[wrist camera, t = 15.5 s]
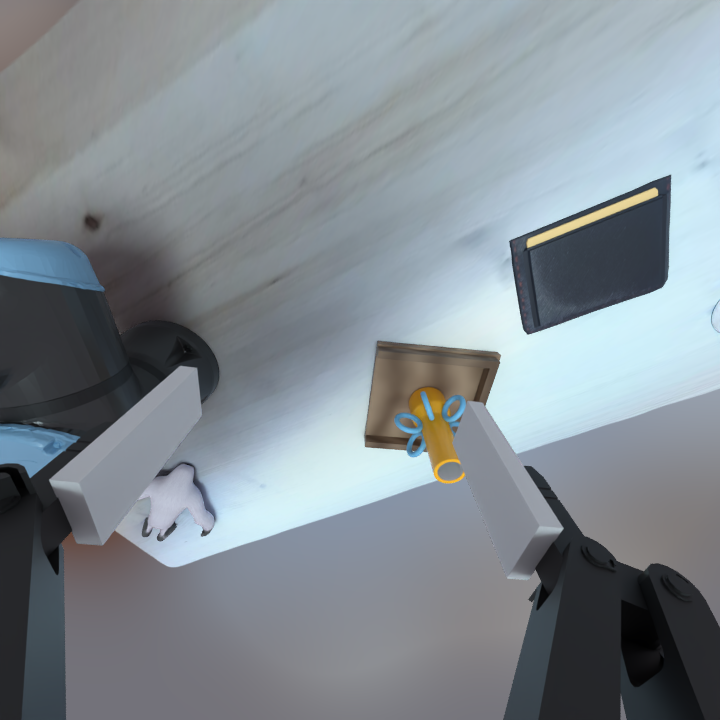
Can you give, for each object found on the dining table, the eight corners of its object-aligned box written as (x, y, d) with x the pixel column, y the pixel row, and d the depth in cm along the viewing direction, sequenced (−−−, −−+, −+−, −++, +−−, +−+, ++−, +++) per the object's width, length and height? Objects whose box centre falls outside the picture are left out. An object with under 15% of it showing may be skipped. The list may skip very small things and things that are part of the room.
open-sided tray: (364, 436, 55) (364, 448, 52) (377, 341, 46) (378, 349, 44) (466, 444, 56) (472, 456, 53) (497, 352, 47) (506, 360, 45)
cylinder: (383, 382, 48) (392, 447, 35) (447, 360, 47) (482, 420, 33) (407, 437, 53) (422, 513, 40) (465, 419, 52) (502, 493, 38)
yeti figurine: (204, 528, 70) (246, 481, 63) (192, 559, 64) (236, 511, 57) (113, 498, 63) (149, 441, 56) (90, 530, 57) (127, 471, 50)
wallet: (527, 339, 45) (512, 236, 39) (520, 334, 47) (505, 235, 40) (674, 292, 42) (684, 171, 35) (662, 288, 43) (670, 173, 37)
